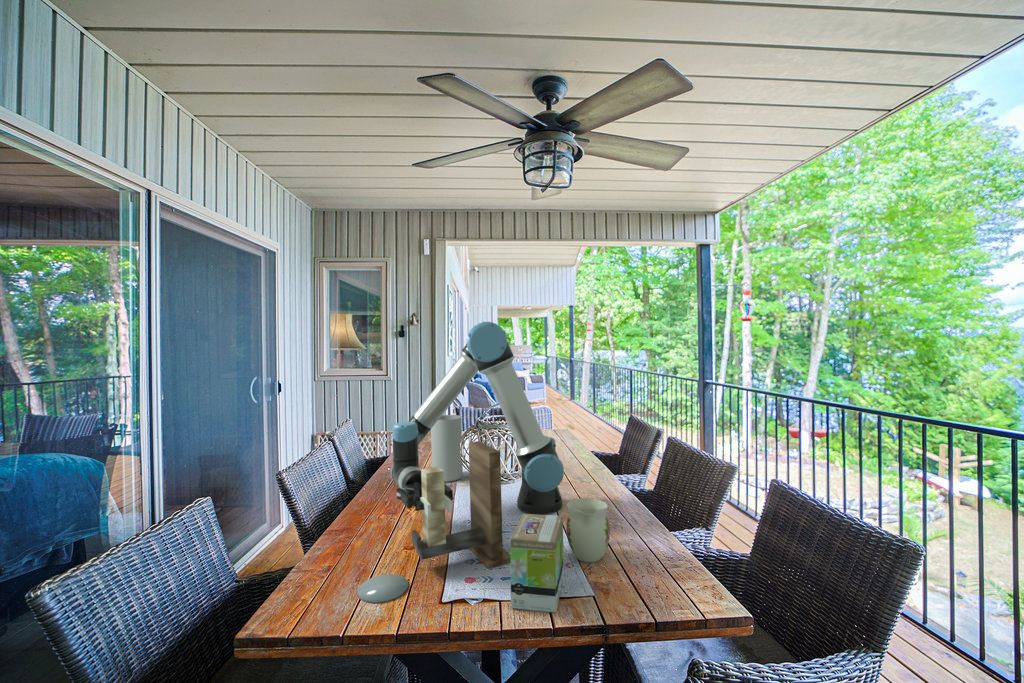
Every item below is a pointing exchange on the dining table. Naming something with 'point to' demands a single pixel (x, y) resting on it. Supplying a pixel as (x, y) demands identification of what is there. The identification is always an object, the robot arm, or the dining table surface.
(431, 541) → the cedar rail
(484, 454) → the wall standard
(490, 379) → the robot arm
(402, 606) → the dining table surface
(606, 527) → the pitcher
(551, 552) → the tea box
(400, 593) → the slate coaster
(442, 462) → the cylinder vase
